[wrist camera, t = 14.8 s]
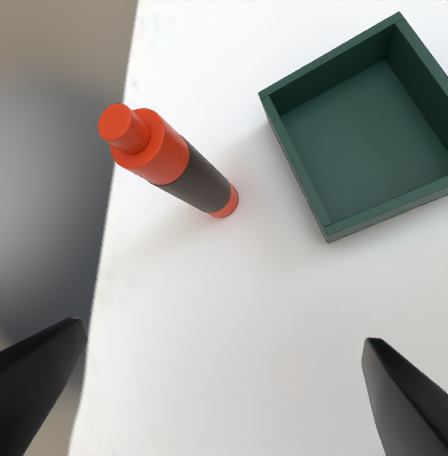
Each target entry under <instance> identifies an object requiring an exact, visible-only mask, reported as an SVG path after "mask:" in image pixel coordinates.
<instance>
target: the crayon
mask: <svg viewBox="0 0 448 456" xmlns="http://www.w3.org/2000/svg"><path fill="white" fill-rule="evenodd" d="M98 130H99V134H100V135H101V137H102V138H103V139H104V140H105V141H107V142H109V143H110V147H111V148H110V149H111V153H112V156H113V158H114V160H115V161H116V163H117V164H118V165H120V166H121V167H123V168H125V169H127V170H129V171H131V172H132V173H134V174H136V175H138V176H140V177H142V178H144V179H145V180H147V181H148V182H150V183H151V184H153V185H155V186H157V187H158V188H160V189H162V190H164V191H166V192H168V193H170V194H172V195H173V196H175V197H177V198H179V199H181V200H183V201H185V202H187V203H188V204H190V205H192V206H194V207H196V208H198V209H200V210H202V211H204V212H207V213H209V214H210V215H212V216H214V217H219V218H220V217H226V216H228V215H230V214H231V213H232V212H233V211H234V210H235V208H236V207H237V204H238V193H237V191H236V189H235V188H234V187H233V186H232V185H231V184H230V183H229V182H228V180H227V179H226V178H225V177H224V176H223V175H222V174H221V173H220V172H219V171H218V170H217V169H216V168H215V167H214V166H213V165H212V164H210V163H209V162H208V161H207V160H206V159H205V158H204V157H203V156H202V155H201V154H200V153H199V152H198V151H197V150H196V149H195V148H194V147H193V146H192V145H191V144H190V143H189V142H188V141H187V140H186V139H185V138H184V137H183V136H181V135H179V134H178V133H177V132H176V131H175V130H174V129H173V128H172V127H171V126H170V125H169V124H168V123H167V122H166V121H165V120H164V119H163V118H162V117H160V116H159V115H158V114H157V113H156V112H155V111H153V110H151V109H146V108H141V109H136V110H133V111H132V110H131V109H130V108H129V107H127V106H126V105H124V104H119V103H118V104H114V105H111V106H110V107H108V108H107V109H106V110H105V111H104V112H103V114H102V115H101V117H100V120H99V123H98Z"/></svg>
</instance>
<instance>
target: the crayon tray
mask: <svg viewBox="0 0 448 456" xmlns="http://www.w3.org/2000/svg"><path fill="white" fill-rule="evenodd" d="M258 94H259V97H260V100H261V102H262V105H263V108H264V110H265V113H266V115H267V118H268V121H269V123H270V125H271V127H272V129H273V131H274V133H275V135H276V137H277V139H278V141H279V144H280V146H281V148H282V150H283V152H284V154H285V156H286V158H287V160H288V162H289V164H290V166H291V169H292V171H293V173H294V175H295V177H296V179H297V181H298V183H299V185H300V187H301V189H302V191H303V194H304V196H305V198H306V200H307V202H308V204H309V206H310V208H311V210H312V212H313V214H314V216H315V219H316V221H317V223H318V225H319V227H320V229H321V231H322V233H323V235H324V237H325V239H326V241H327V243H330V242H333V241H335V240H338V239H340V238H343V237H345V236H348V235H350V234H352V233H355V232H357V231H360V230H362V229H365V228H367V227H370V226H372V225H375V224H377V223H380V222H382V221H384V220H387V219H389V218H392V217H394V216H397V215H399V214H402V213H404V212H407V211H409V210H411V209H414V208H416V207H419V206H421V205H424V204H426V203H429V202H431V201H434V200H436V199H439V198H441V197H443V196H446V195H448V76H447V75H446V73H445V72H444V71H443V69H442V68H441V67H440V65H439V64H438V63H437V61H436V60H435V59H434V57H433V56H432V55H431V53H430V52H429V50H428V49H427V48H426V46H425V45H424V44H423V42H422V41H421V40H420V38H419V37H418V36H417V34H416V33H415V32H414V30H413V29H412V28H411V26H410V25H409V23H408V22H407V21H406V19H405V18H404V17H403V15H402V14H401V13H400V12H397V13H395V14H394V15H392V16H390V17H388V18H387V19H385V20H383V21H381V22H380V23H378V24H376V25H375V26H373V27H371V28H369V29H368V30H366V31H364V32H362V33H361V34H359V35H357V36H355V37H354V38H352V39H350V40H349V41H347V42H345V43H343V44H342V45H340V46H338V47H336V48H335V49H333V50H331V51H330V52H328V53H326V54H324V55H323V56H321V57H319V58H317V59H316V60H314V61H312V62H311V63H309V64H307V65H305V66H304V67H302V68H300V69H298V70H297V71H295V72H293V73H292V74H290V75H288V76H286V77H285V78H283V79H281V80H279V81H278V82H276V83H274V84H272V85H271V86H269V87H267V88H266V89H264V90H262V91H260V92H259V93H258Z"/></svg>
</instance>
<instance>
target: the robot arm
mask: <svg viewBox="0 0 448 456" xmlns="http://www.w3.org/2000/svg"><path fill="white" fill-rule="evenodd" d="M87 340H88V337H87V333H86V329H85V325H84V322H83V320H82V319H81V318H76V317H69V318H66V319H64V320H62V321H60V322H58V323H56V324H55V325H53V326H50V327H48V328H47V329H44V330H42V331H40V332H38V333H37V334H34V335H33V336H31V337H28V338H26V339H25V340H22V341H20V342H18V343H16V344H14V345H12V346H10V347H9V348H6V349H4V350H2V351H1V352H0V456H23V455H24V453H25V451H26V450H27V448H28V447H29V445H30V443H31V442H32V440H33V439H34V437H35V435H36V434H37V432H38V430H39V429H40V427H41V425H42V424H43V422H44V421H45V419H46V418H47V416H48V414H49V413H50V411H51V409H52V408H53V406H54V404H55V403H56V401H57V400H58V398H59V396H60V395H61V393H62V391H63V390H64V388H65V386H66V384H67V382H68V380H69V378H70V376H71V374H72V372H73V370H74V368H75V366H76V364H77V362H78V360H79V358H80V356H81V354H82V352H83V350H84V348H85V346H86V344H87ZM362 369H363V373H364V378H365V382H366V386H367V391H368V395H369V399H370V404H371V408H372V412H373V416H374V420H375V424H376V427H377V430H378V433H379V436H380V439H381V442H382V445H383V448H384V451H385V454H386V456H448V394H447V393H446V392H445V391H444V390H443V389H441V388H440V387H439V386H438V385H437V384H435V383H434V382H433V381H432V380H431V379H430V378H428V377H427V376H426V375H425V374H424V373H422V372H421V371H420V370H419V369H418V368H416V367H415V366H414V365H413V364H412V363H410V362H409V361H408V360H407V359H406V358H404V357H403V356H402V355H401V354H400V353H398V352H397V351H396V350H395V349H394V348H392V347H391V346H390V345H389V344H388V343H387V342H385V341H384V340H383V339H381V338H370V337H368V338H366V339H365V342H364V348H363V354H362Z"/></svg>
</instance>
